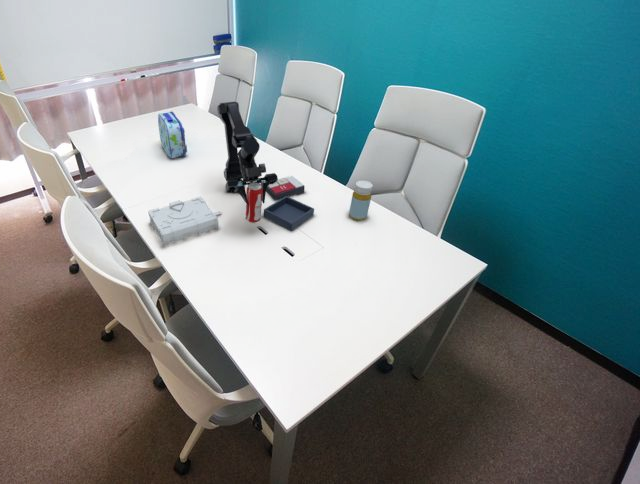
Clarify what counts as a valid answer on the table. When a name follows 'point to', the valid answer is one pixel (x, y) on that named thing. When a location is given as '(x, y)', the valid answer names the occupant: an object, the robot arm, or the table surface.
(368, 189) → the bottle
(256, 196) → the beverage can
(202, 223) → the grey case
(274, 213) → the tray
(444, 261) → the table surface
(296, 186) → the calculator
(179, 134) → the lunch box
